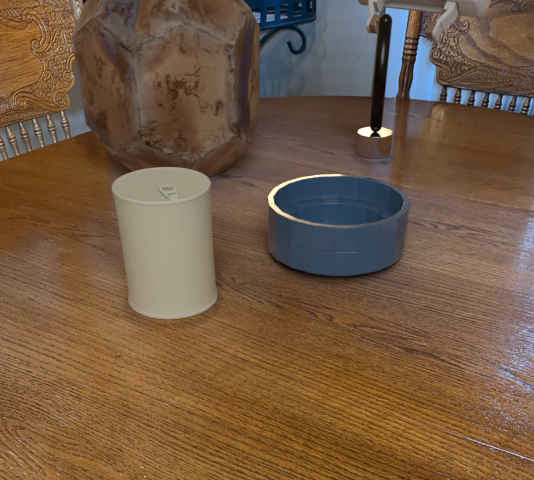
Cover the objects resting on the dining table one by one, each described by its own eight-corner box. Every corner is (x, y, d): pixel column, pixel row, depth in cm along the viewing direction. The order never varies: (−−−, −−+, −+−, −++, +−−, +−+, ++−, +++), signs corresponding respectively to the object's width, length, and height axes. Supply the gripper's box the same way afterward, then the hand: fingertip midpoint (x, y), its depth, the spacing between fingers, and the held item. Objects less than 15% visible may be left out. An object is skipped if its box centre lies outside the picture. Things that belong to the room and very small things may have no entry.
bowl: (389, 223, 86) (395, 172, 82) (415, 280, 75) (423, 225, 71) (264, 226, 86) (264, 175, 81) (271, 284, 74) (271, 229, 70)
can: (142, 328, 67) (125, 203, 59) (117, 287, 74) (98, 169, 66) (231, 308, 70) (226, 186, 62) (200, 270, 77) (191, 156, 68)
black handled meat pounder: (387, 147, 108) (401, 10, 96) (393, 158, 104) (409, 17, 92) (353, 148, 107) (364, 10, 96) (358, 159, 104) (370, 17, 92)
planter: (274, 148, 108) (274, -44, 92) (229, 206, 90) (220, -18, 74) (139, 137, 112) (118, -48, 96) (71, 191, 94) (31, -24, 78)
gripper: (370, -81, 100) (330, 10, 100) (508, -74, 91) (463, 25, 92) (381, -45, 106) (344, 41, 106) (512, -36, 97) (470, 58, 97)
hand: (400, 34), depth 99 cm, fingers open, 8 cm apart
